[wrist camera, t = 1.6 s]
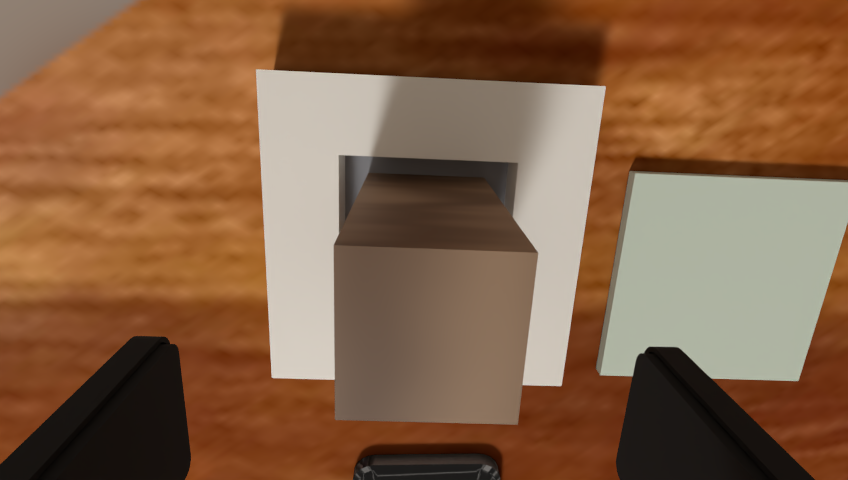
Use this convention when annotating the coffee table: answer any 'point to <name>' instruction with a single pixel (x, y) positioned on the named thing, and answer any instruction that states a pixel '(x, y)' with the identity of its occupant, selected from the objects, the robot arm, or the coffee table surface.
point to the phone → (427, 467)
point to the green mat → (722, 271)
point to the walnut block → (431, 303)
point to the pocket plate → (418, 155)
